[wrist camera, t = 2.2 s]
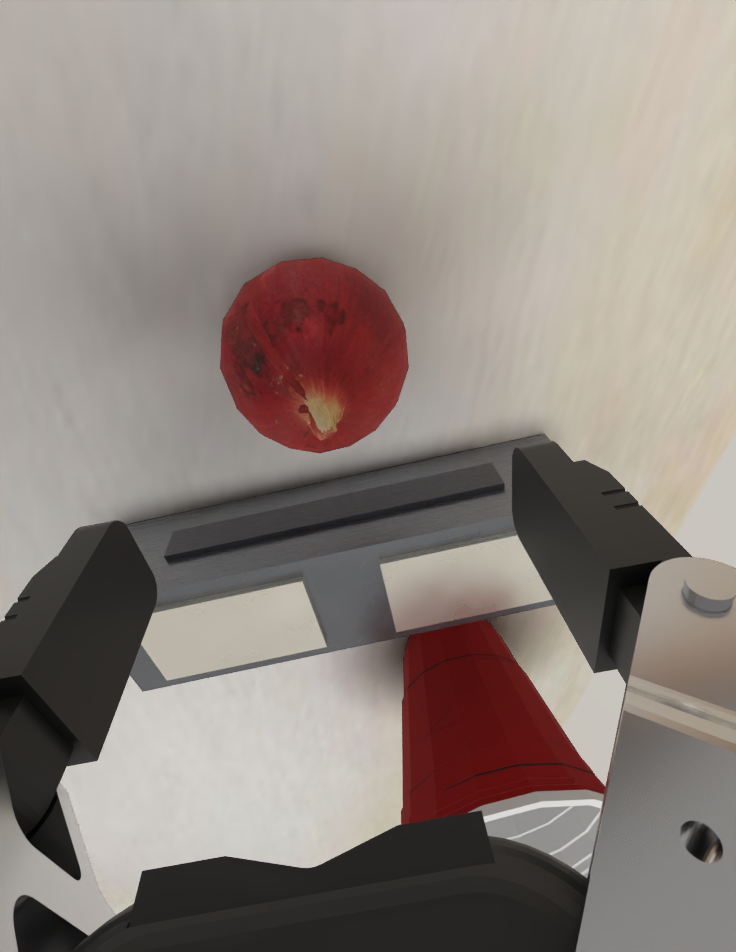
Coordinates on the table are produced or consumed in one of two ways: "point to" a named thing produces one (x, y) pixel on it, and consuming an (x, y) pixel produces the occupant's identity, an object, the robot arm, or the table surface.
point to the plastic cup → (491, 746)
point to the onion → (313, 354)
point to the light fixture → (334, 566)
